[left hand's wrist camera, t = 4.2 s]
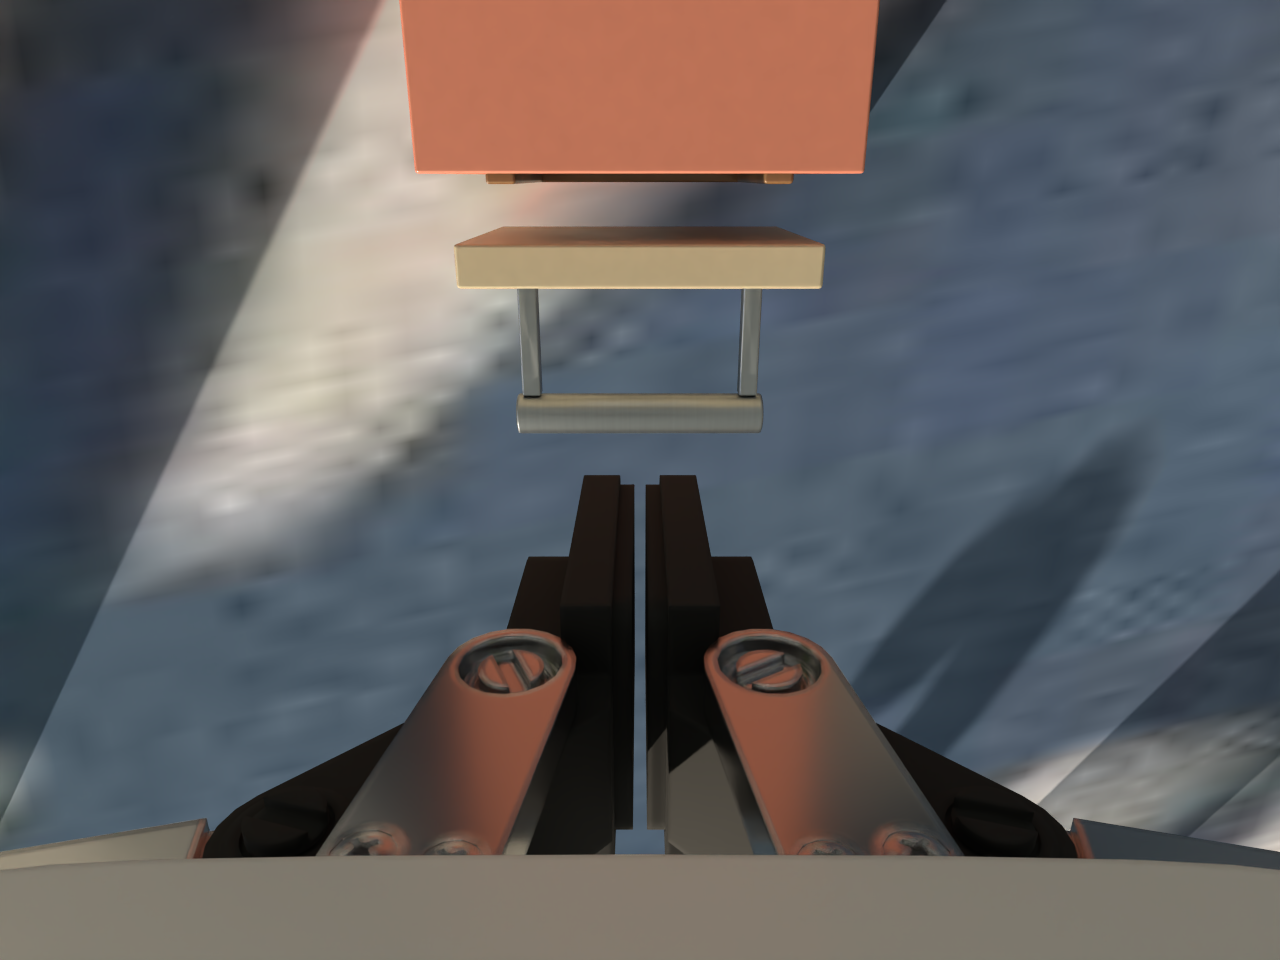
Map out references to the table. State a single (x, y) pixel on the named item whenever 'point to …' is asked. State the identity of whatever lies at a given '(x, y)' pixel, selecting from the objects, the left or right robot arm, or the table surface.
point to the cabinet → (639, 85)
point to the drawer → (639, 265)
